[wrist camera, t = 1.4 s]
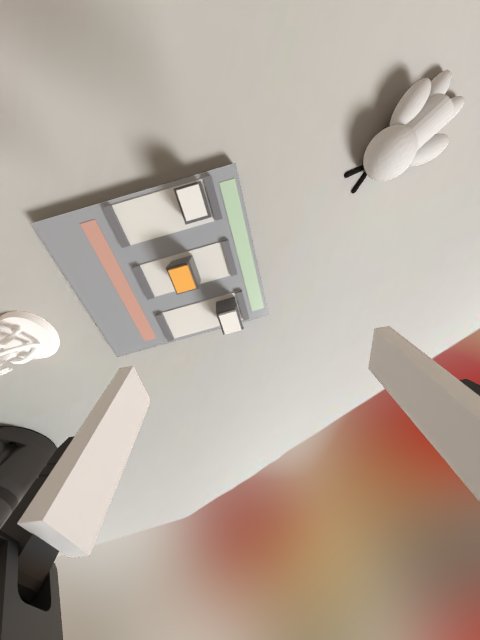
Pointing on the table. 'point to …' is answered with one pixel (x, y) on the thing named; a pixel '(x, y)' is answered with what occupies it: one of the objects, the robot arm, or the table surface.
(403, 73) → the table surface
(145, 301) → the panel
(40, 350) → the figurine
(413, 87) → the toy
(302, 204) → the table surface
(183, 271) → the breaker mid
